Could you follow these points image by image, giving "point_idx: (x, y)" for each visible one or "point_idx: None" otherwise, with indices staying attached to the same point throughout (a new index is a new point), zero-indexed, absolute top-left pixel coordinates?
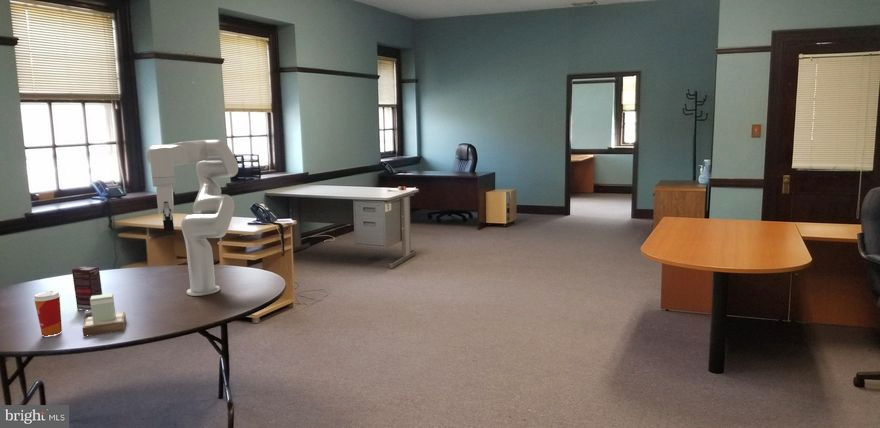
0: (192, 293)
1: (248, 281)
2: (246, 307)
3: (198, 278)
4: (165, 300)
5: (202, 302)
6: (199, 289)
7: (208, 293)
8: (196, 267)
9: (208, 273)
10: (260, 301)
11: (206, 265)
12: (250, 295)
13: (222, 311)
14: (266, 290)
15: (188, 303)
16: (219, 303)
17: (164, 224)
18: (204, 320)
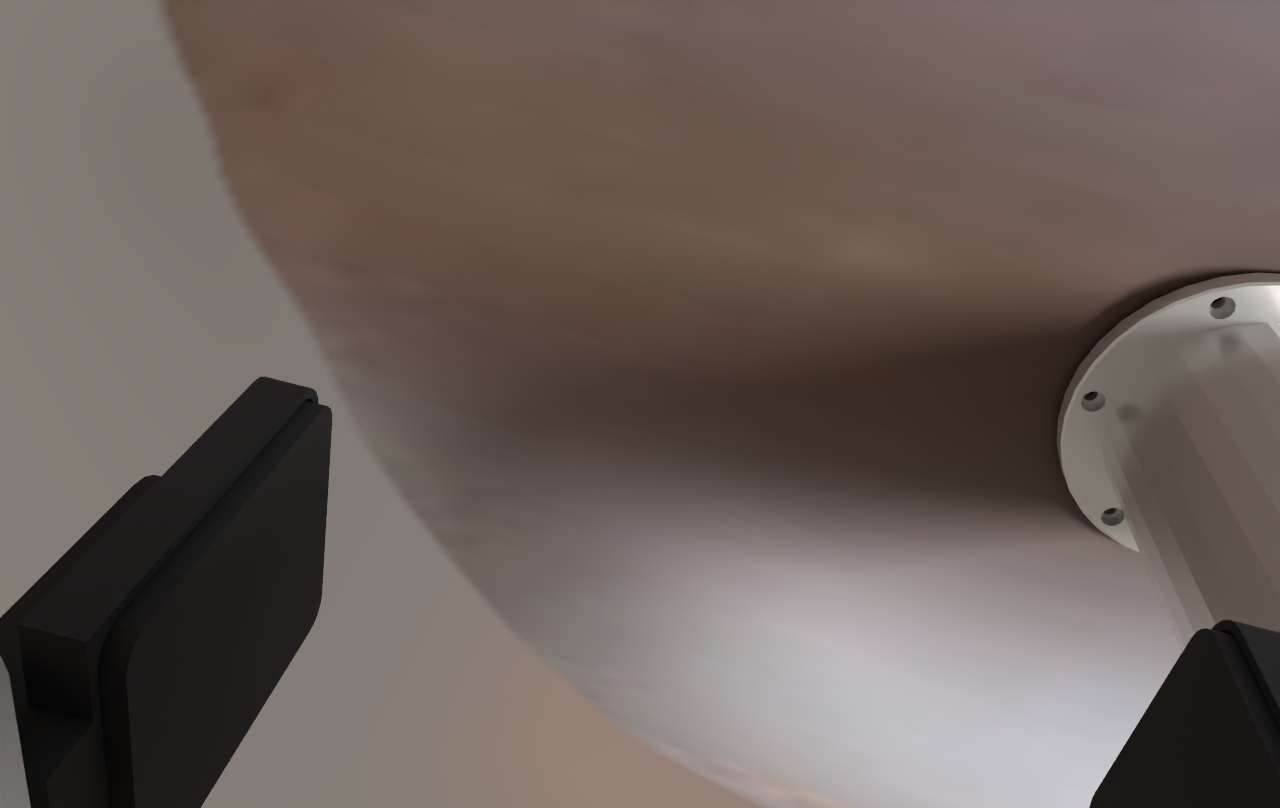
0: (1164, 307)
1: None
2: (429, 498)
3: (1177, 453)
4: (1269, 18)
5: (843, 297)
6: (1145, 387)
7: (1060, 424)
8: (1231, 526)
9: (1152, 572)
10: (521, 617)
11: (1177, 627)
12: (742, 633)
13: (434, 335)
14: (789, 750)
15: (918, 186)
16: (691, 394)
17: (141, 536)
18: (261, 144)
